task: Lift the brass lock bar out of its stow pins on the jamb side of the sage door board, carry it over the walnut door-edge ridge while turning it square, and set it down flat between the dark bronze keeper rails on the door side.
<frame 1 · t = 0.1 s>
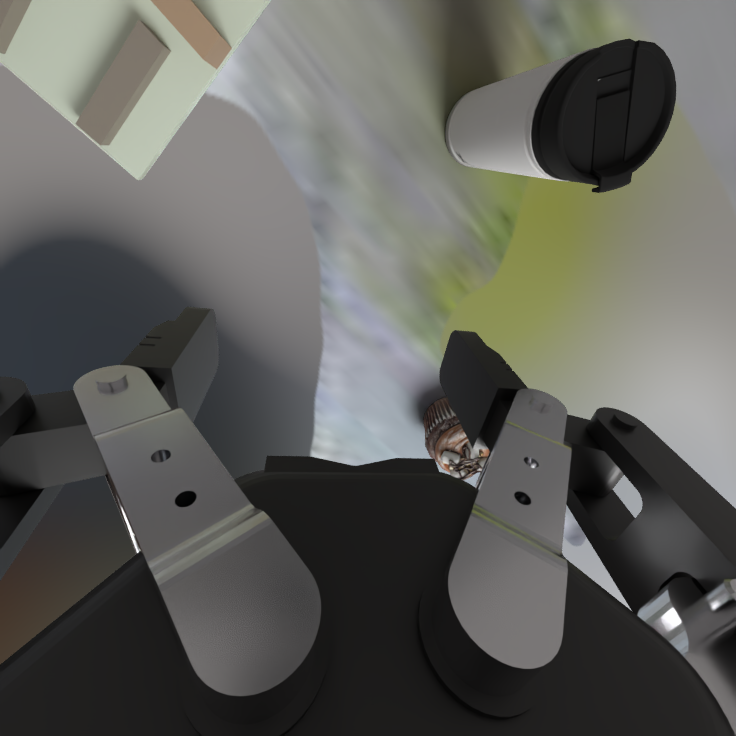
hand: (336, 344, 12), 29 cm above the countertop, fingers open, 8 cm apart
cupcake: (447, 415, 54), on the countertop
travel mug: (475, 131, 34), on the countertop
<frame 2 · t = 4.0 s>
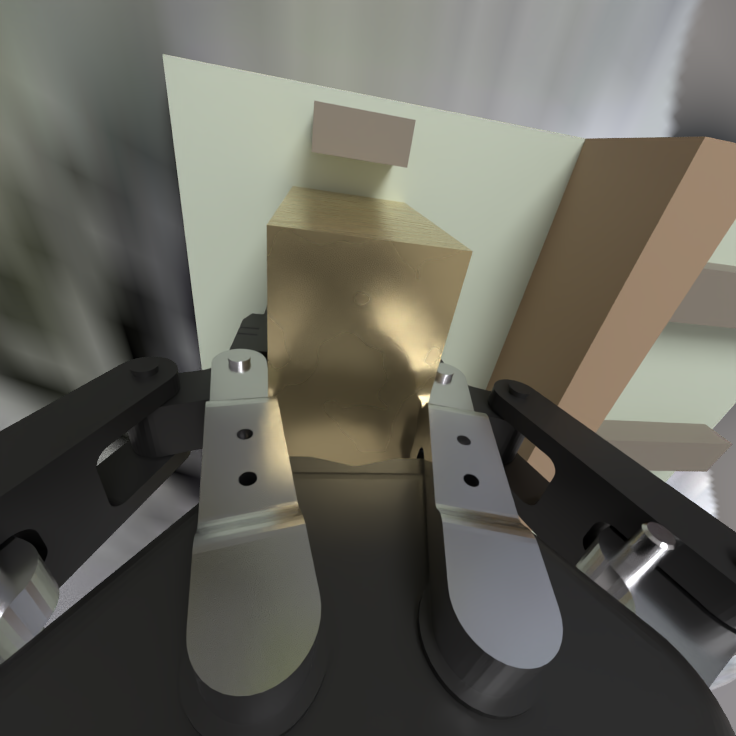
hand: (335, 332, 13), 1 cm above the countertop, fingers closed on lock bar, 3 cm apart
door board: (474, 431, 19), on the countertop
lock bar: (336, 325, 13), point 1 cm above the countertop, touching door board, gripper
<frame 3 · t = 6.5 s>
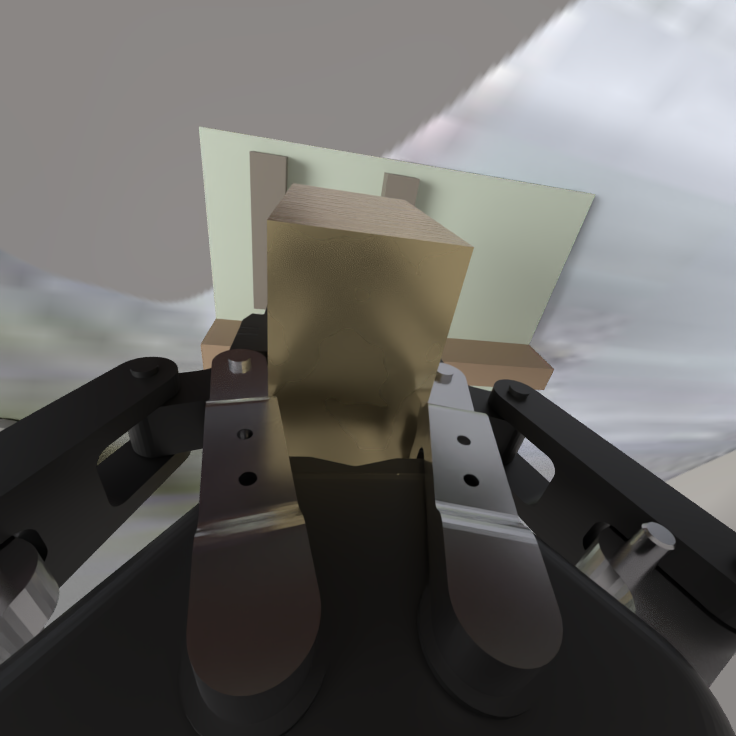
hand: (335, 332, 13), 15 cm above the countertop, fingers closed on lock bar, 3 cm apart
door board: (381, 337, 30), on the countertop
lock bar: (336, 323, 13), point 14 cm above the countertop, touching gripper
when the fingers open (3 cm above the countertop, at t = 9.2 s): lock bar stays where it is, resting on door board.
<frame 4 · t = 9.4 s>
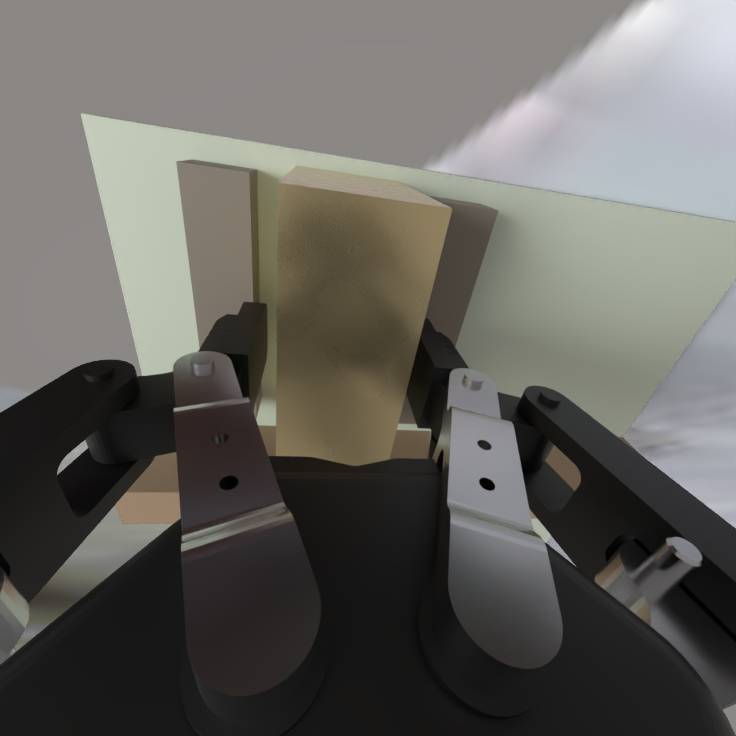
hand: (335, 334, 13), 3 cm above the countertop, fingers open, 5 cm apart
door board: (408, 431, 20), on the countertop
lock bar: (336, 298, 14), point 1 cm above the countertop, touching door board
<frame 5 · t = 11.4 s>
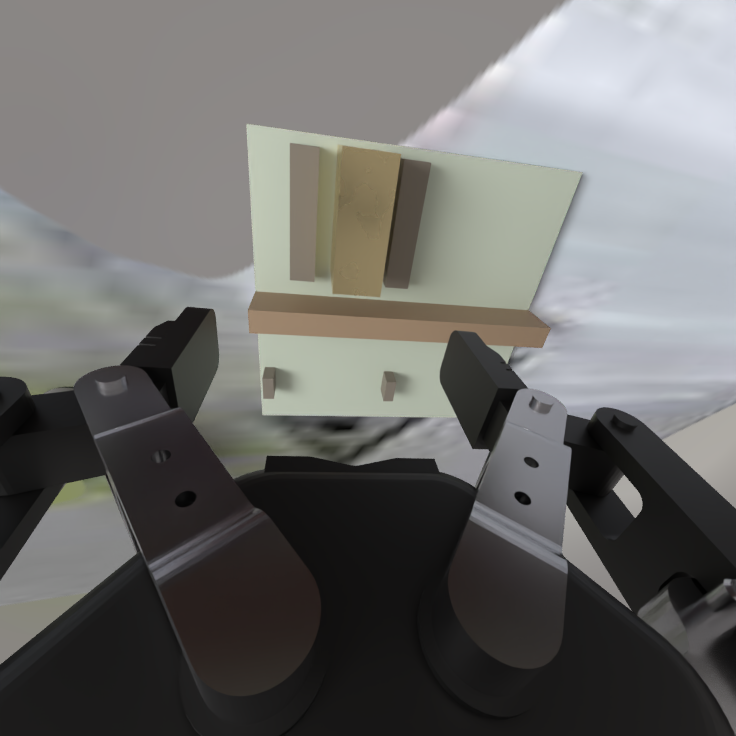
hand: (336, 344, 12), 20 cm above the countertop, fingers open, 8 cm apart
door board: (397, 307, 34), on the countertop
lock bar: (355, 214, 28), point 1 cm above the countertop, touching door board
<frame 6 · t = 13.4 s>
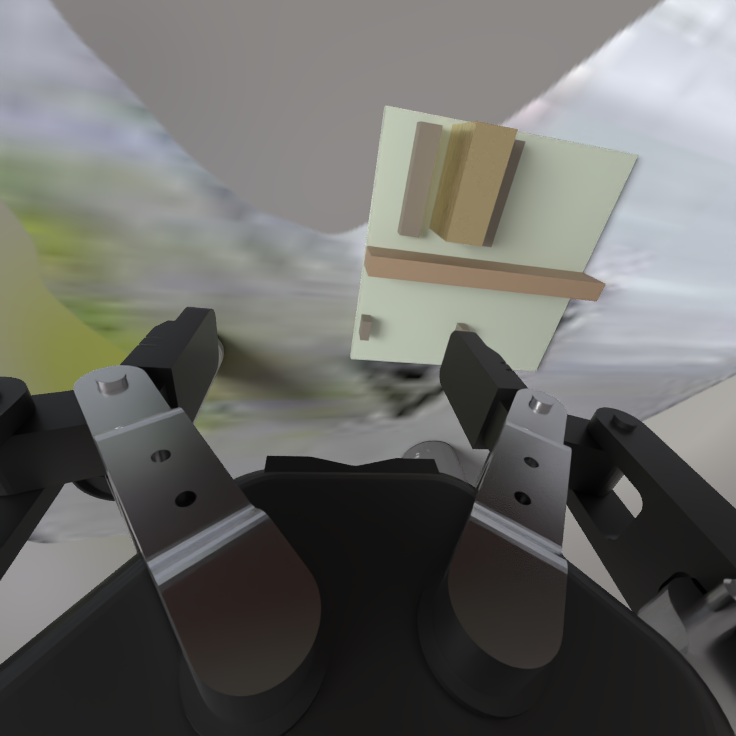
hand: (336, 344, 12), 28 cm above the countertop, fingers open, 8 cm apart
door board: (474, 266, 40), on the countertop
lock bar: (456, 182, 34), point 1 cm above the countertop, touching door board
travel mug: (196, 347, 42), on the countertop
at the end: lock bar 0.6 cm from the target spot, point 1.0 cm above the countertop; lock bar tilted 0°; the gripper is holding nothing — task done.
